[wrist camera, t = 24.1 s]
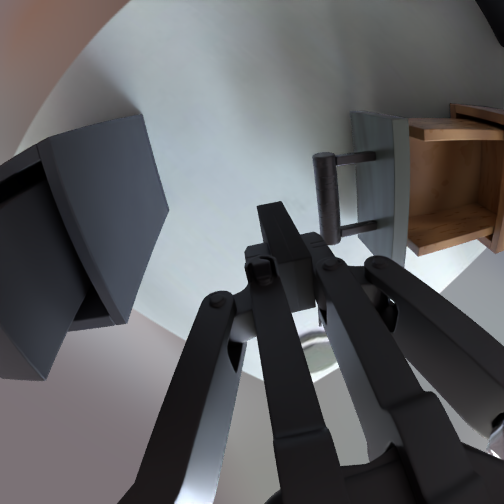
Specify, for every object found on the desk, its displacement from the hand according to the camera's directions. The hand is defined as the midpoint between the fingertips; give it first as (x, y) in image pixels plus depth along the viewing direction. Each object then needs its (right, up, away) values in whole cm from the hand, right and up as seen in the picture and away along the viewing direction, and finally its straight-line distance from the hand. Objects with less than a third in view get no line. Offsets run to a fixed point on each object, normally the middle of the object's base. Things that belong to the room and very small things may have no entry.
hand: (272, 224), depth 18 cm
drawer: (+12, +5, +3) cm, 13 cm away
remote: (-11, +4, +2) cm, 12 cm away
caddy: (-11, +4, +2) cm, 12 cm away
